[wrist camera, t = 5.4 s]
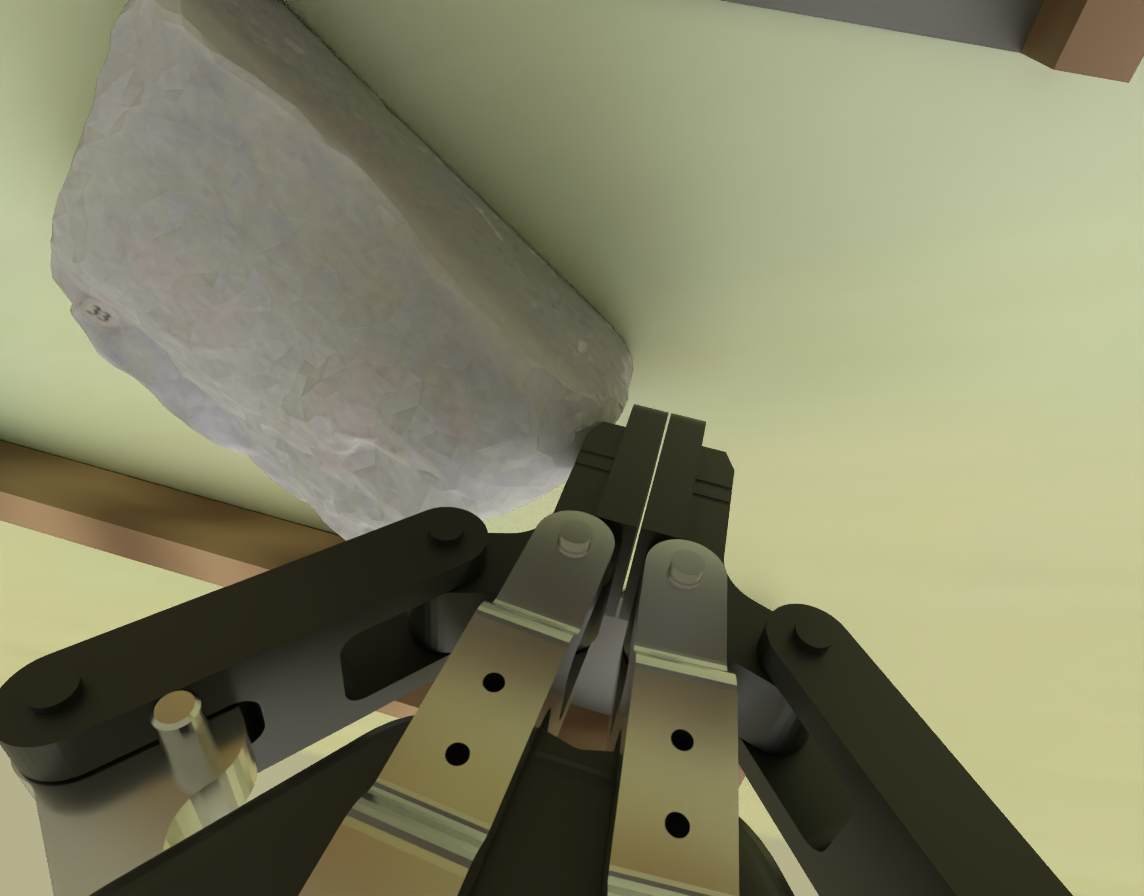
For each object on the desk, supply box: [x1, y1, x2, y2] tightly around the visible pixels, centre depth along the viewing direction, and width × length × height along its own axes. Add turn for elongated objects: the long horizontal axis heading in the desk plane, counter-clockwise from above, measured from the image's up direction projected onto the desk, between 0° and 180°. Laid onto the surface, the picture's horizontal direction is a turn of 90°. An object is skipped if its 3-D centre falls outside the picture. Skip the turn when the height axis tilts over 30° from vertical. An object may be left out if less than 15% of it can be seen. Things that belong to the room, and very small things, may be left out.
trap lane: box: [0, 0, 1144, 788], centre depth 16 cm, size 28×29×3 cm
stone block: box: [51, 0, 633, 541], centre depth 16 cm, size 12×5×10 cm
